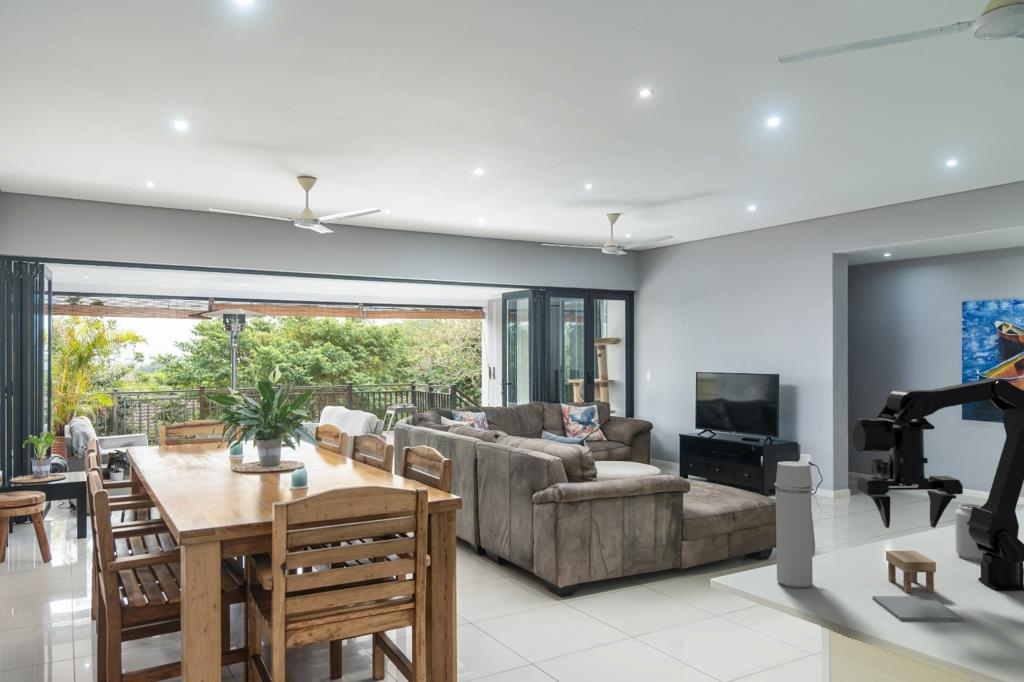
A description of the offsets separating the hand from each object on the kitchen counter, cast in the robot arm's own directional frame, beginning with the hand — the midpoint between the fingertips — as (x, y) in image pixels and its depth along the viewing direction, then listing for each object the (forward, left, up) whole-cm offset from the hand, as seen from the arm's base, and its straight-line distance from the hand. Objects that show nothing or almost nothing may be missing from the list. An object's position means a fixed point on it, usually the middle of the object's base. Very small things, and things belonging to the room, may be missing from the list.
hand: (909, 527), depth 146 cm
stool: (0, 0, -12) cm, 12 cm away
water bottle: (+22, -2, -12) cm, 25 cm away
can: (-25, -21, -12) cm, 35 cm away
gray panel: (+6, +13, -12) cm, 19 cm away
